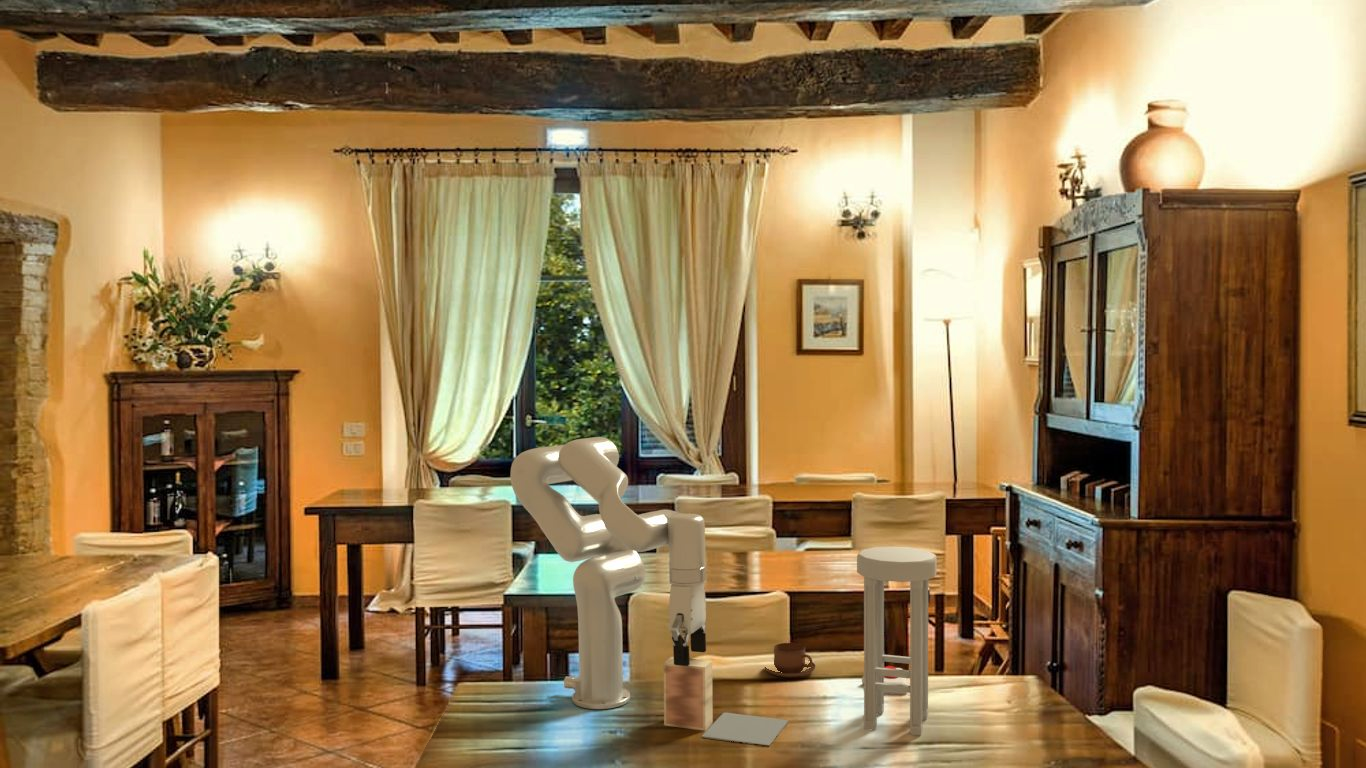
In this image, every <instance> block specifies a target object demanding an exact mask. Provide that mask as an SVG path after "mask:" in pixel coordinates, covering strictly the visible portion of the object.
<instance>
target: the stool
mask: <svg viewBox="0 0 1366 768" xmlns="http://www.w3.org/2000/svg"><path fill="white" fill-rule="evenodd" d="M937 560H938V559H937V554H935V553H933V552H931V551H929V550H927V549H921V548H917V547H911V546H910V547H909V546H894V545H893V546H892V545H891V546H876V547H868V548H865V549H861V551H859V553H858V554H857V555H856V573H857V574H859V575H860V576H862V577H863V627H864V628H863V675H864V684H863V720H864V721H863V729H864V730H869V729H872V730H871V731H875V730H876V729H877V727H878V715H880V716H883V714H884V711H885V695H884V690H887V691H896V692H906V694H907V693H908V694H909V735H913V736H921V737H922V735H923V730H924V729H923V728H924V727H923V722H924V721H925V720H928V717H929V580H930V579H934V578H935V577H936V576H937V572H938V571H937ZM885 582H896V583H907V582H909V583H910V585H909V587H910V590H909V593H910V595H909V598H910V599H909V603H910V604H909V605H910V607H909V629H910V630H909V631H910V632H909V634H910V635H909V641H910V642H909V652H910V653H909V656H904V655H903V656H901V655H891V654H885V636H884V635H885V633H884V632H885ZM885 662H886V663H887V662H888V663H895V664H896V663H897V664H898V663H899V664H909V670H907V669H903V670H899V669H889V668H884V667H885ZM884 676H890V677H900V678H906V679H909V685H908V684H907V685H899V684H889V683H884ZM923 720H924V721H923Z"/></svg>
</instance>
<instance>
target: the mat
mask: <svg viewBox="0 0 1366 768" xmlns="http://www.w3.org/2000/svg"><path fill="white" fill-rule="evenodd" d="M788 723H789V720H788V719H780V718H772V717H766V716H757V715H748V714H742V713H741V714H739V713H733V712H723V713H722V714H720V716H719V717H718V718H717V719H716V720H715V721H713V723H712V724H711V725H710V727H709V728H708V729H707V730H706V731H704V733H703V734H702V735H701V738H702V739H711V740H717V741H725V742H731V741H732V742H733V741H734V742H733V743H739V742H742V743H741V744H746V743H747V745H754V744H761V745H770V744H771V743H772V742H774V741H775V740H776V739H777V737H778V736H779V735H780V733H781V732H782V731H783V729H784V728H785V727H786V726H787V724H788ZM785 725H786V726H785ZM781 730H782V731H781ZM778 734H779V735H778ZM777 735H778V736H777ZM776 736H777V737H776ZM775 738H776V739H775ZM774 739H775V740H774ZM772 744H773V743H772ZM772 744H771V745H772ZM761 745H760V746H761ZM771 745H770V746H771Z"/></svg>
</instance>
